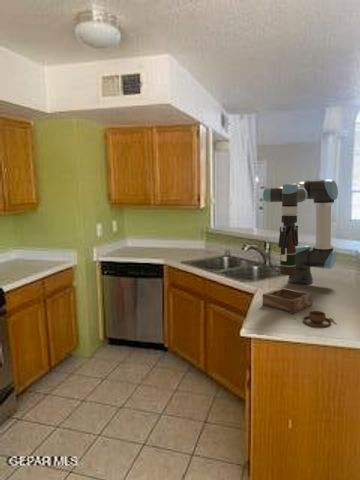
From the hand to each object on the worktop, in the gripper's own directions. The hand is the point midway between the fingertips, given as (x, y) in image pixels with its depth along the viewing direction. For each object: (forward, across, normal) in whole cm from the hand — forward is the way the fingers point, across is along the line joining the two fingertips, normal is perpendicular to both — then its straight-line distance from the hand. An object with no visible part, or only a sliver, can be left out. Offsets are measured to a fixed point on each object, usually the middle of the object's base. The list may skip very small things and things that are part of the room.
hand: (288, 259), depth 192 cm
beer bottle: (+8, 0, 0) cm, 8 cm away
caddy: (+24, 0, 0) cm, 24 cm away
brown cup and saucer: (+25, +11, +20) cm, 33 cm away
